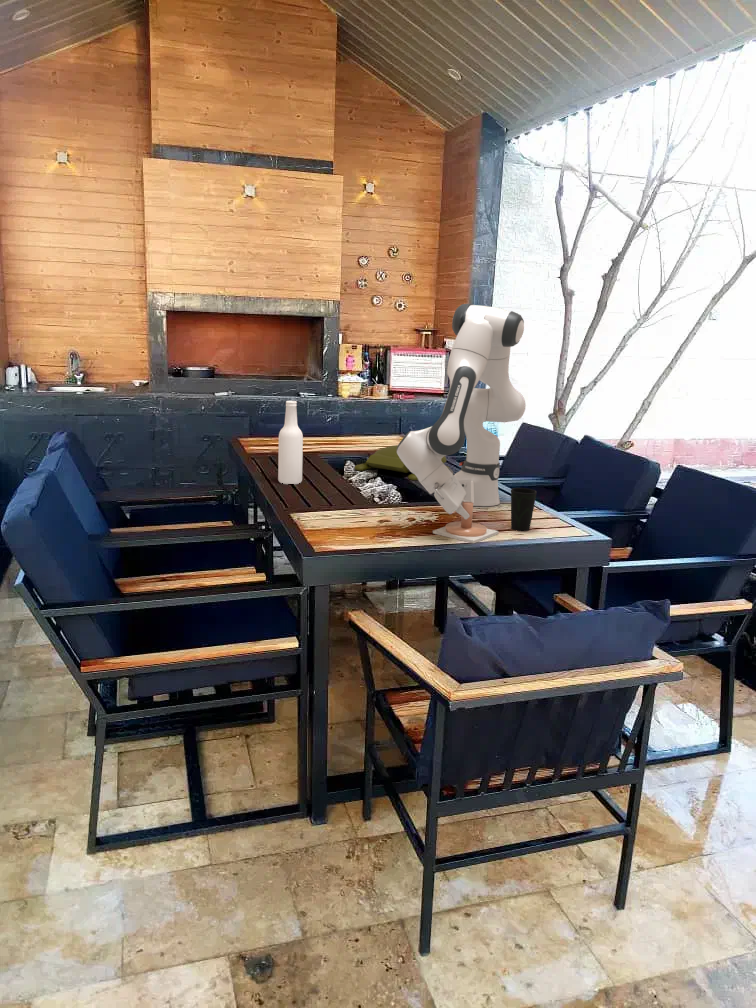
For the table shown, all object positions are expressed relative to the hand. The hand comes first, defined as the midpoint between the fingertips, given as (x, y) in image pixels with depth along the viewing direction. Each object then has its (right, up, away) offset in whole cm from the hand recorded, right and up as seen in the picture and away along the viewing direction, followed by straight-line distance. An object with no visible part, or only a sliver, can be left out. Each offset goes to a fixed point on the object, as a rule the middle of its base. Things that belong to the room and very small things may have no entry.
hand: (469, 515), depth 223 cm
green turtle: (-15, +17, +93) cm, 95 cm away
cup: (+17, -4, +9) cm, 20 cm away
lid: (-1, -4, +1) cm, 5 cm away
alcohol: (-59, +11, +59) cm, 84 cm away
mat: (-1, -5, +1) cm, 5 cm away
